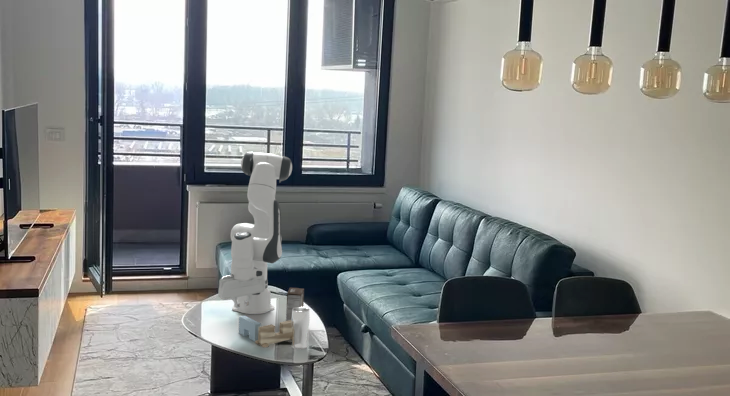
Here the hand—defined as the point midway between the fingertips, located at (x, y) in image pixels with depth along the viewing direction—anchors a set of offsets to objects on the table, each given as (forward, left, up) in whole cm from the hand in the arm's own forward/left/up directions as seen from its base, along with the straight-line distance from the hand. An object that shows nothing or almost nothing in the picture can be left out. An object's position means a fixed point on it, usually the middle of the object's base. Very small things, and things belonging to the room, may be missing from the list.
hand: (242, 306), depth 278 cm
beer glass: (+18, +21, -12) cm, 30 cm away
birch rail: (+11, +13, -11) cm, 20 cm away
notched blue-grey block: (+4, +3, -11) cm, 12 cm away
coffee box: (-5, +22, -12) cm, 26 cm away
